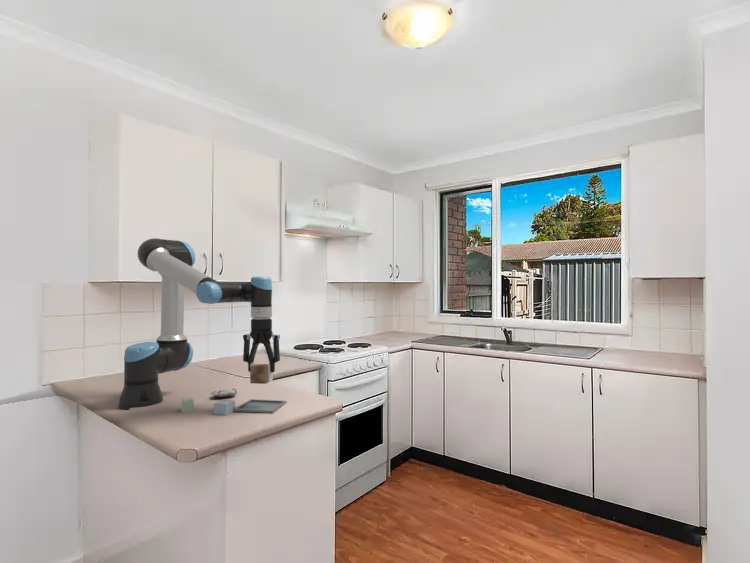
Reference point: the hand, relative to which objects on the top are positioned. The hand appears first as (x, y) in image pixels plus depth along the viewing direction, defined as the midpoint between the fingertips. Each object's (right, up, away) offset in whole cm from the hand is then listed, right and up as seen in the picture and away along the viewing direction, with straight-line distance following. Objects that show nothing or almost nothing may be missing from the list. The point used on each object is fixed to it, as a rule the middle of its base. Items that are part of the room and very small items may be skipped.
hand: (261, 380), depth 162 cm
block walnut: (0, 0, 0) cm, 0 cm away
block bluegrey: (-12, -10, -6) cm, 17 cm away
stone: (-16, -10, +14) cm, 23 cm away
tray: (0, -10, 0) cm, 10 cm away
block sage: (-26, -10, -3) cm, 28 cm away
